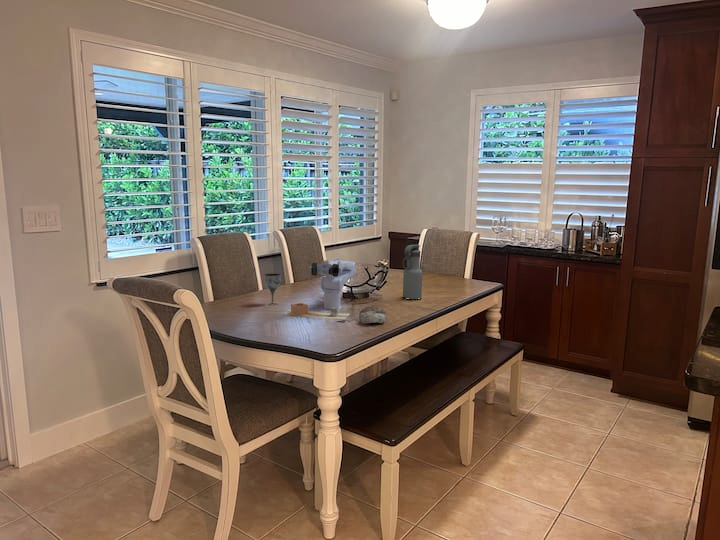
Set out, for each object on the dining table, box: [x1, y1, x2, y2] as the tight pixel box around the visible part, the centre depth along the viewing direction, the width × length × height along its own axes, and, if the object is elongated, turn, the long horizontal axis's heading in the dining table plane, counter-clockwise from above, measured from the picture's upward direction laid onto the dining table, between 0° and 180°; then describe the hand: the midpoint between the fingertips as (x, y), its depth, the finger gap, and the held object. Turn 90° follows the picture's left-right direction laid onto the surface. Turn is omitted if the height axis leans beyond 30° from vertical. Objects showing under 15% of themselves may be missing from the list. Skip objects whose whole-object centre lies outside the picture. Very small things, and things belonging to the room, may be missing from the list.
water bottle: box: [402, 244, 423, 299], centre depth 280 cm, size 10×10×28 cm
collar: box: [290, 302, 309, 315], centre depth 241 cm, size 6×6×4 cm
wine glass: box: [263, 272, 282, 307], centre depth 261 cm, size 8×8×15 cm
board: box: [282, 305, 351, 324], centre depth 240 cm, size 12×28×5 cm, turn 79°
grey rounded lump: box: [358, 305, 387, 325], centre depth 233 cm, size 14×9×10 cm
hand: (320, 271), depth 232 cm, fingers open, 7 cm apart
